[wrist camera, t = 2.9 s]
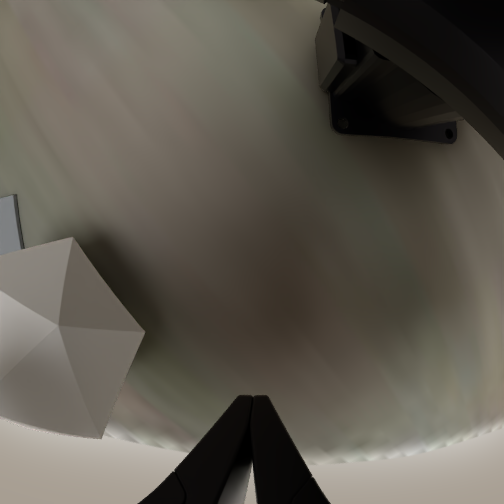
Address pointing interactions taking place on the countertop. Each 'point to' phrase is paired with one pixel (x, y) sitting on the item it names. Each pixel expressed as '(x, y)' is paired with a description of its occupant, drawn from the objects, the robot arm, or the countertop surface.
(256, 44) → the countertop surface
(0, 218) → the mat
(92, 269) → the die
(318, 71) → the robot arm
